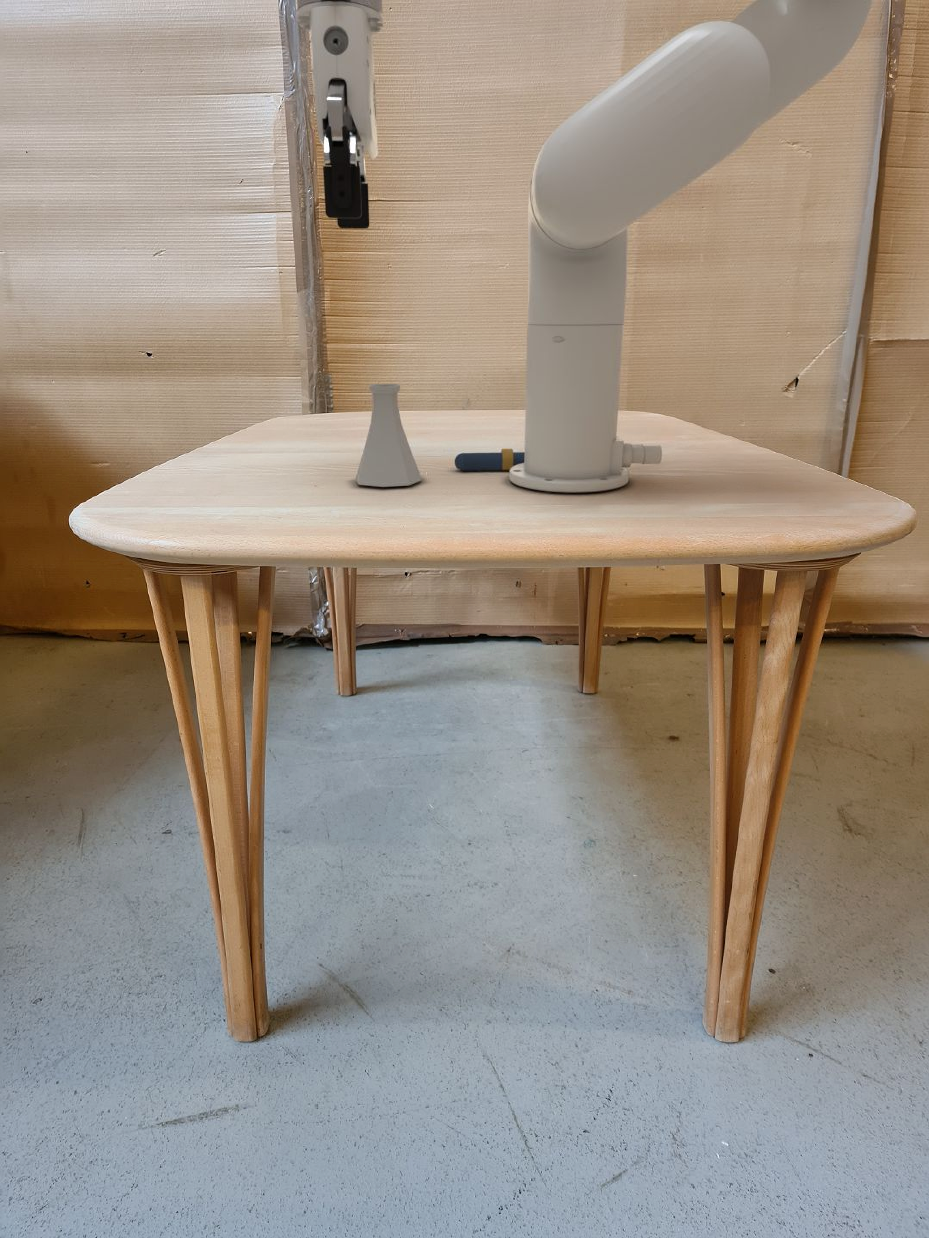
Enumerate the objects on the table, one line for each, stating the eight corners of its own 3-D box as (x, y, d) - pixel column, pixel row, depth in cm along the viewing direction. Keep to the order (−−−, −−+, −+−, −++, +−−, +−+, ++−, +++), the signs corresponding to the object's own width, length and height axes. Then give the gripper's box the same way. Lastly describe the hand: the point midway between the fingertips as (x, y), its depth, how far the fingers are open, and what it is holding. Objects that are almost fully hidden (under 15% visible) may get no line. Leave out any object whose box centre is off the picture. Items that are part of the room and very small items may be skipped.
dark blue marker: (557, 467, 88) (558, 446, 88) (560, 471, 86) (561, 450, 85) (454, 468, 88) (454, 448, 87) (454, 473, 86) (454, 451, 85)
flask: (426, 475, 85) (424, 382, 81) (416, 490, 78) (413, 388, 74) (363, 474, 85) (357, 382, 82) (347, 488, 79) (340, 388, 75)
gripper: (376, -36, 59) (383, 214, 65) (387, 37, 75) (392, 232, 81) (278, -38, 58) (295, 212, 65) (310, 36, 74) (321, 231, 81)
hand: (349, 223), depth 73 cm, fingers open, 9 cm apart
